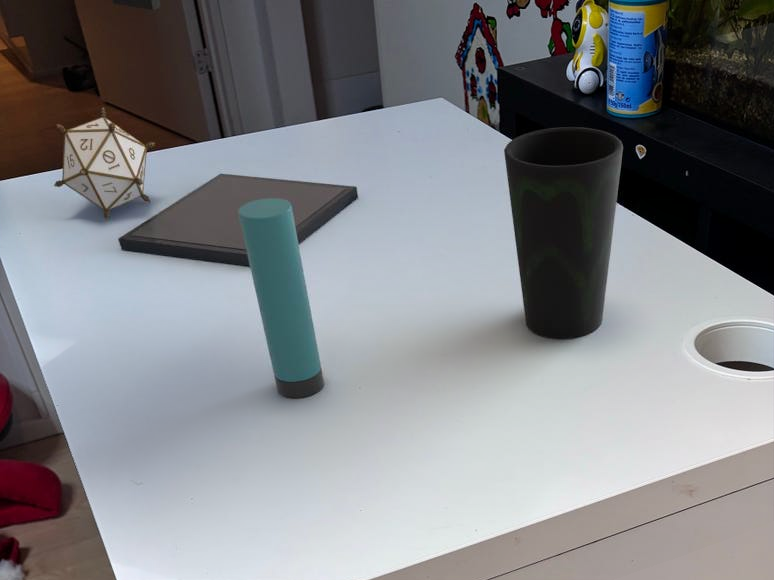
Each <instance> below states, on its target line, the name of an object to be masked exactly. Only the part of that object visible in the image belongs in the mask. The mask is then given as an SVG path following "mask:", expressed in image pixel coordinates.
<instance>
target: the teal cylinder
mask: <svg viewBox="0 0 774 580" xmlns="http://www.w3.org/2000/svg"><path fill="white" fill-rule="evenodd" d="M238 214H239V219H240V223H241V228H242V232H243V237H244V241H245V246H246V250H247V255H248V259H249V264H250V266H249V268H250V272H251V277H252V281H253V286H254V287H253V288H254V289H255V296H256V300H257V305H258V309H259V314H260V319H261V323H262V327H263V331H264V336H265V340H266V346H267V349H268V354H269V360H270V364H271V368H272V372H273V377H274V381H275V385H276V390H277V391H278V393H279V394H280V395H281V396H283V397H285V398H290V399H302V398H306V397H310V396H313V395H316V394H317V393H319V392H320V391H321V390H323V388H324V385H325V384H324V383H325V380H324V374H323V370H322V363H321V359H320V352H319V347H318V343H317V337H316V331H315V326H314V320H313V315H312V310H311V305H310V299H309V294H308V289H307V283H306V276H305V272H304V266H303V261H302V255H301V250H300V243H299V244H298V239H297V233H296V228H295V223H294V217H293V212H292V206H291V204H290V202H288V201H286V200H284V199H277V198H267V199H260V200H255V201H252V202H249V203H247V204H245V205H243V206H242V207H241V208H240V209H239V211H238Z"/></svg>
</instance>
